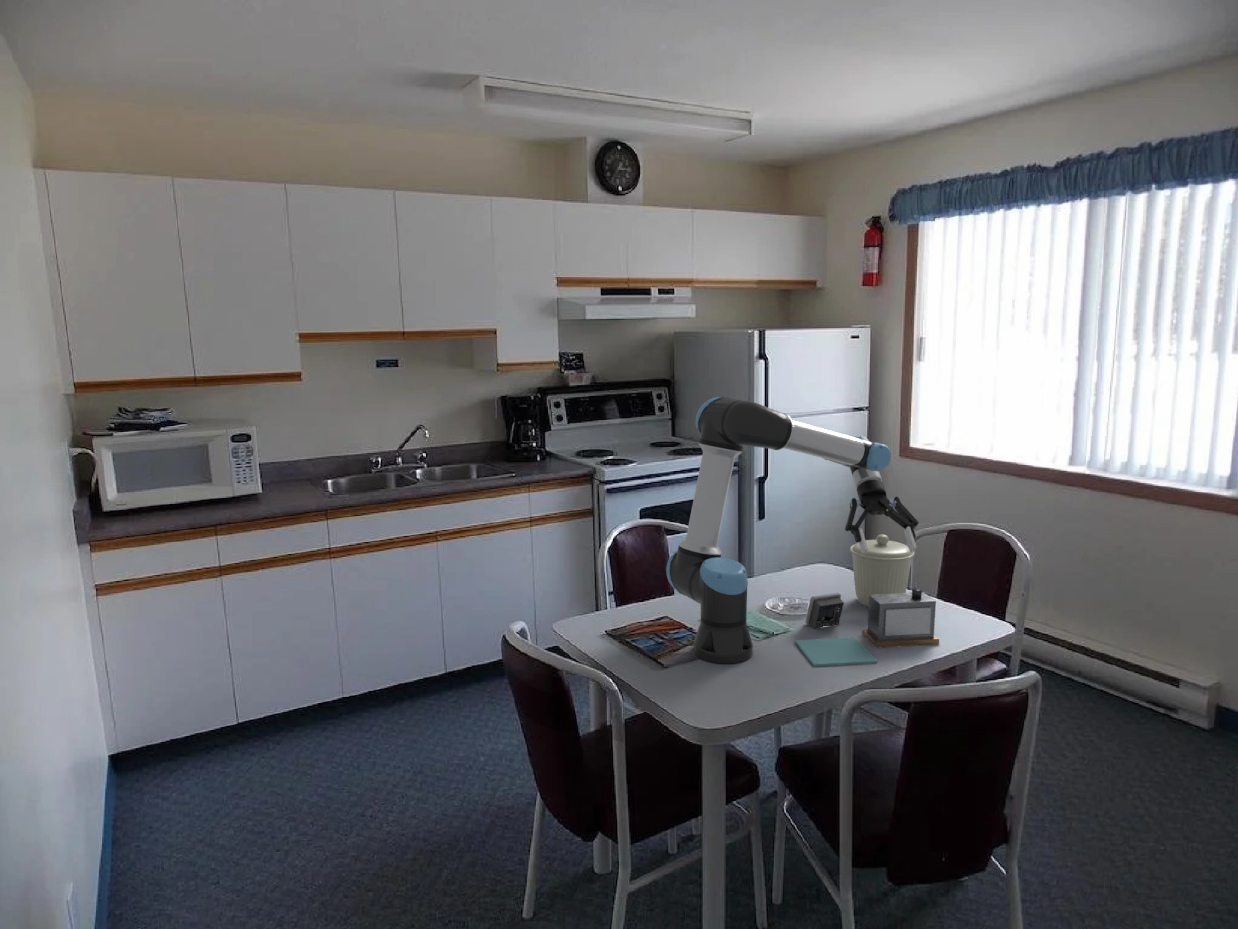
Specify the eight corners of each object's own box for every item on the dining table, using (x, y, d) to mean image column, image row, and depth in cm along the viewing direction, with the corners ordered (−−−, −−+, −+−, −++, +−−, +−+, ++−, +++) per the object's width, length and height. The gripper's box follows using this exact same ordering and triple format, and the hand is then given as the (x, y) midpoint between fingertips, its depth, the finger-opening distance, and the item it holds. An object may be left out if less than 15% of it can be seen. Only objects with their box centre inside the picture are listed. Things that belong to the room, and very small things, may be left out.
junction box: (875, 647, 206) (878, 597, 204) (862, 634, 215) (864, 586, 213) (938, 644, 208) (941, 594, 205) (922, 631, 217) (925, 583, 214)
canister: (869, 617, 228) (873, 545, 224) (836, 596, 245) (838, 529, 241) (924, 610, 232) (928, 540, 229) (888, 590, 249) (891, 525, 246)
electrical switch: (833, 620, 226) (836, 589, 223) (844, 628, 221) (847, 597, 219) (804, 624, 223) (807, 594, 220) (814, 633, 218) (817, 602, 216)
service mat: (813, 666, 196) (814, 664, 196) (794, 642, 210) (794, 640, 210) (877, 663, 197) (877, 660, 197) (853, 639, 212) (853, 637, 212)
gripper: (906, 491, 233) (928, 555, 221) (823, 494, 230) (840, 559, 218) (916, 476, 226) (938, 542, 214) (830, 479, 224) (848, 545, 212)
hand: (889, 551), depth 216 cm, fingers open, 13 cm apart
